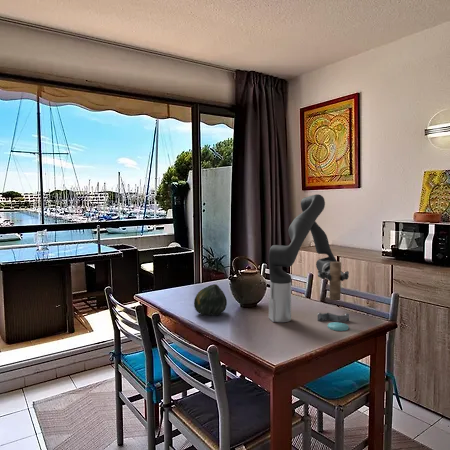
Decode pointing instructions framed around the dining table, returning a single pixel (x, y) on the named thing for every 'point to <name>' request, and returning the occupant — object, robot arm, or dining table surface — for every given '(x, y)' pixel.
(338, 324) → the teal pad
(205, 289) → the squash
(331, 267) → the walnut peg
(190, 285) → the dining table surface
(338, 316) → the zigzag rail
